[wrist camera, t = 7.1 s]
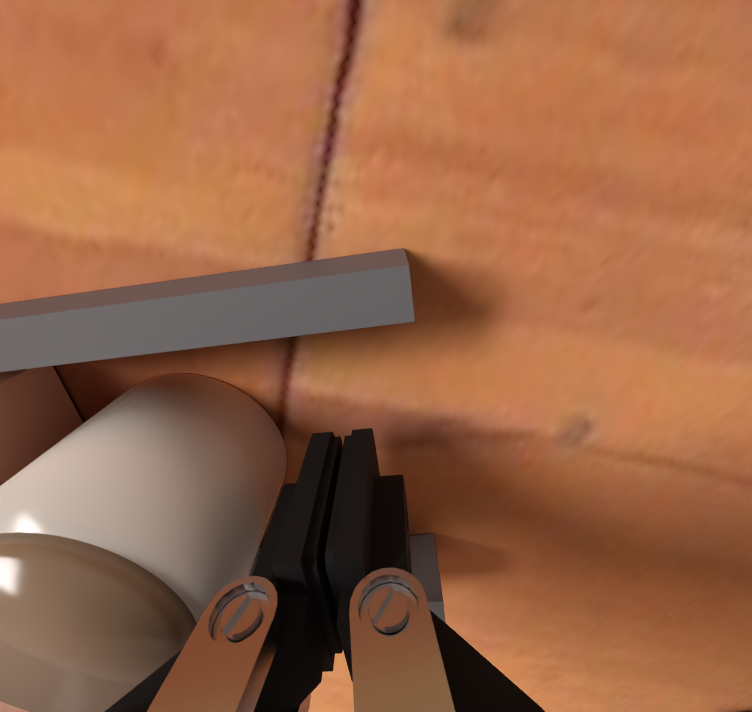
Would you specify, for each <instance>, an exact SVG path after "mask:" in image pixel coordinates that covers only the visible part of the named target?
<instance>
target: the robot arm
mask: <svg viewBox="0 0 752 712" xmlns="http://www.w3.org/2000/svg"><path fill="white" fill-rule="evenodd" d="M343 650H344V654H345V658H346V661H347V665H348V669H349V672H350V676H351V680H352V682H353V692H354V711H355V712H545V711H544V710H543V709H542V708H541V707H540V706H539V705H538V704H537V703H535V702H534V701H533V700H532V699H531V698H530V697H529V696H527V695H526V694H525V693H524V692H523V691H522V690H521V689H520V688H518V687H517V686H516V685H515V684H514V683H513V682H512V681H510V680H509V679H508V678H507V677H506V676H505V675H504V674H503V673H501V672H500V671H499V670H498V669H497V668H496V667H495V666H493V665H492V664H491V663H490V662H489V661H488V660H487V659H486V658H484V657H483V656H482V655H481V654H480V653H479V652H478V651H476V650H475V649H474V648H473V647H472V646H471V645H470V644H468V643H467V642H466V641H465V640H464V639H463V638H462V637H461V636H459V635H458V634H457V633H456V632H455V631H454V630H453V629H451V628H450V627H449V626H448V625H447V624H446V623H445V622H444V621H442V620H441V619H440V618H439V617H438V616H437V615H436V614H434V613H433V612H432V611H431V610H430V609H429V605H428V601H427V597H426V594H425V592H424V589H423V587H422V585H421V583H420V582H419V581H418V580H417V579H416V578H415V577H414V576H413V575H412V568H411V553H410V537H409V523H408V511H407V501H406V493H405V485H404V477H403V475H391V476H380V473H379V467H378V460H377V454H376V447H375V441H374V435H373V430H372V428H369V429H358V430H352V434H351V435H350V436H345V439H344V445H342V440H341V437H340V436H339V437H334V434H333V432H325V433H314V434H312V436H311V439H310V442H309V445H308V448H307V451H306V455H305V458H304V461H303V464H302V467H301V471H300V474H299V477H298V480H297V483H292V484H286V485H285V486H284V487H283V489H282V492H281V494H280V497H279V500H278V503H277V506H276V509H275V511H274V514H273V517H272V520H271V523H270V525H269V528H268V531H267V534H266V537H265V540H264V542H263V545H262V548H261V551H260V554H259V556H258V559H257V562H256V565H255V568H254V571H253V573H252V576H248V577H244V578H241V579H238V580H235V581H234V582H232V583H230V584H229V585H227V586H226V587H224V588H223V589H222V590H221V591H220V592H219V593H218V594H217V595H215V596H214V598H213V599H212V600H211V602H210V603H209V605H208V606H207V607H206V609H205V611H204V612H203V614H202V616H201V618H200V619H199V621H198V623H197V625H196V626H195V628H194V630H193V632H192V633H191V635H190V637H189V639H188V640H187V642H186V644H185V646H184V647H183V649H182V650H181V651H179V652H178V653H177V654H176V655H174V656H173V657H172V658H171V659H169V660H168V661H167V662H166V663H164V664H163V665H162V666H161V667H159V668H158V669H157V670H156V671H154V672H153V673H152V674H151V675H149V676H148V677H147V678H146V679H144V680H143V681H142V682H141V683H139V684H138V685H137V686H136V687H135V688H133V689H132V690H131V691H130V692H128V693H127V694H126V695H125V696H123V697H122V698H121V699H120V700H118V701H117V702H116V703H115V704H113V705H112V706H111V707H110V708H108V709H107V710H106V711H105V712H308V710H309V705H310V698H311V692H312V691H313V690H314V689H315V688H316V687H317V686H318V685H319V683H320V682H321V679H322V672H324V671H333V665H334V657H335V653H342V651H343Z"/></svg>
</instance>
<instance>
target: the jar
mask: <svg viewBox="0 0 752 712" xmlns="http://www.w3.org/2000/svg"><path fill="white" fill-rule="evenodd" d="M286 468H287V453H286V448H285V444H284V441H283V438H282V436H281V433H280V431H279V429H278V428H277V426H276V424H275V423H274V421H273V420H272V419H271V417H270V416H269V415H268V413H267V412H266V411H265V410H264V409H263V408H262V407H261V406H260V405H259V404H258V403H256V402H255V401H254V400H253V399H252V398H250V397H249V396H248V395H246V394H245V393H243V392H242V391H240V390H238V389H236V388H234V387H232V386H231V385H229V384H226V383H224V382H221V381H219V380H216V379H213V378H209V377H205V376H201V375H195V374H184V373H174V374H164V375H159V376H154V377H151V378H148V379H146V380H143V381H141V382H139V383H137V384H136V385H134V386H132V387H131V388H130V389H128V390H127V391H126V392H125V393H123V394H122V395H121V396H119V397H118V398H117V399H115V400H114V401H113V402H111V403H110V404H109V405H107V406H106V407H105V408H103V409H102V410H101V411H99V412H98V413H97V414H95V415H94V416H93V417H91V418H90V419H89V420H87V421H86V422H85V423H83V424H82V425H81V426H79V427H78V428H77V429H75V430H74V431H73V432H71V433H70V434H69V435H67V436H66V437H65V438H63V439H62V440H61V441H59V442H58V443H57V444H55V445H54V446H53V447H51V448H50V449H49V450H48V451H46V452H45V453H44V454H42V455H41V456H40V457H38V458H37V459H36V460H34V461H33V462H32V463H30V464H29V465H28V466H26V467H25V468H24V469H22V470H21V471H20V472H18V473H17V474H16V475H14V476H13V477H12V478H10V479H9V480H8V481H6V482H5V483H4V484H2V485H1V486H0V701H1V702H3V703H6V704H9V705H11V706H14V707H17V708H20V709H23V710H26V711H30V712H105V711H106V710H107V709H108V708H110V707H111V706H112V705H113V704H115V703H116V702H117V701H118V700H120V699H121V698H122V697H123V696H125V695H126V694H127V693H128V692H130V691H131V690H132V689H133V688H135V687H136V686H137V685H138V684H139V683H141V682H142V681H143V680H144V679H146V678H147V677H148V676H149V675H151V674H152V673H153V672H154V671H156V670H157V669H158V668H159V667H161V666H162V665H163V664H164V663H166V662H167V661H168V660H169V659H171V658H172V657H173V656H174V655H176V654H177V653H178V652H179V651H181V650H182V649H183V647H184V646H185V644H186V642H187V640H188V639H189V637H190V635H191V633H192V632H193V630H194V628H195V626H196V625H197V623H198V621H199V619H200V618H201V616H202V614H203V612H204V611H205V609H206V607H207V606H208V605H209V603H210V602H211V600H212V599H213V598H214V596H215V595H217V594H218V593H219V592H220V591H221V590H222V589H223V588H224V587H226V586H227V585H229V584H230V583H232V582H234V581H235V580H238V579H241V578H244V577H248V576H249V573H250V571H251V568H252V565H253V562H254V560H255V557H256V554H257V551H258V549H259V546H260V543H261V540H262V538H263V535H264V532H265V530H266V527H267V524H268V521H269V519H270V516H271V513H272V510H273V508H274V505H275V502H276V499H277V497H278V494H279V491H280V488H281V486H282V483H283V480H284V477H285V473H286Z"/></svg>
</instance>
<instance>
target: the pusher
mask: <svg viewBox="0 0 752 712" xmlns="http://www.w3.org/2000/svg"><path fill="white" fill-rule="evenodd" d="M82 424H83V422H82V420H81V418H80V416H79V414H78V412H77V411H76V409H75V407H74V405H73V403H72V401H71V399H70V398H69V396H68V394H67V392H66V390H65V388H64V386H63V384H62V383H61V381H60V379H59V377H58V375H57V373H56V371H55V370H54V368H53V366H46V367H38V368H30V369H22V370H13V371H5V372H0V486H1V485H2V484H4V483H5V482H6V481H8V480H9V479H10V478H12V477H13V476H14V475H16V474H17V473H18V472H20V471H21V470H22V469H24V468H25V467H26V466H28V465H29V464H30V463H32V462H33V461H34V460H36V459H37V458H38V457H40V456H41V455H42V454H44V453H45V452H46V451H48V450H49V449H50V448H51V447H53V446H54V445H55V444H57V443H58V442H59V441H61V440H62V439H63V438H65V437H66V436H67V435H69V434H70V433H71V432H73V431H74V430H75V429H77V428H78V427H79V426H81V425H82ZM15 711H26V710H23V709H20V708H17V707H14V706H11V705H9V704H6V703H3V702H1V701H0V712H15Z"/></svg>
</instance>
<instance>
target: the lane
mask: <svg viewBox="0 0 752 712" xmlns="http://www.w3.org/2000/svg"><path fill="white" fill-rule="evenodd" d="M408 322H415V319H414V309H413V299H412V289H411V279H410V270H409V263H408V260H407V256H406V253H405V250H404V248H402V249H395V250H387V251H380V252H373V253H366V254H359V255H351V256H344V257H337V258H330V259H322V260H315V261H308V262H301V263H294V264H286V265H279V266H272V267H265V268H257V269H250V270H243V271H236V272H228V273H221V274H214V275H207V276H200V277H192V278H185V279H178V280H171V281H163V282H156V283H149V284H142V285H135V286H127V287H120V288H113V289H106V290H98V291H91V292H84V293H77V294H70V295H62V296H55V297H48V298H41V299H33V300H26V301H19V302H12V303H4V304H0V372H5V371H13V370H22V369H30V368H38V367H46V366H54V365H63V364H71V363H79V362H87V361H95V360H104V359H112V358H120V357H128V356H137V355H145V354H153V353H161V352H169V351H178V350H186V349H194V348H202V347H210V346H219V345H227V344H235V343H243V342H252V341H260V340H268V339H276V338H284V337H293V336H301V335H309V334H317V333H325V332H334V331H342V330H350V329H358V328H366V327H375V326H383V325H391V324H399V323H408ZM409 537H410V553H411V568H412V575H413V576H414V577H415V578H416V579H417V580H418V581H419V582H420V583H421V585H422V587H423V589H424V592H425V594H426V597H427V601H428V605H429V609H430V610H431V611H432V612H433V613H434V614H436V615H437V616H438V617H439V618H440V619H441V620H442V621H444V622H445V615H444V605H443V596H442V589H441V582H440V574H439V567H438V560H437V552H436V545H435V537H434V534H424V535H411V536H409ZM261 548H262V547H259V549H258V551H257V554H256V557H255V560H254V562H253V565H252V568H251V571H250V573H249V576H252V573H253V571H254V568H255V565H256V562H257V559H258V556H259V554H260V551H261Z"/></svg>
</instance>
